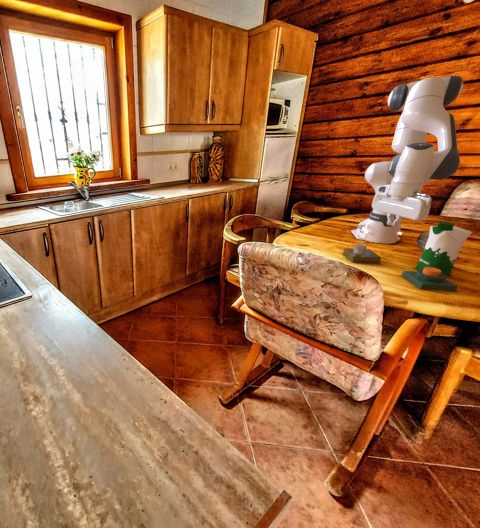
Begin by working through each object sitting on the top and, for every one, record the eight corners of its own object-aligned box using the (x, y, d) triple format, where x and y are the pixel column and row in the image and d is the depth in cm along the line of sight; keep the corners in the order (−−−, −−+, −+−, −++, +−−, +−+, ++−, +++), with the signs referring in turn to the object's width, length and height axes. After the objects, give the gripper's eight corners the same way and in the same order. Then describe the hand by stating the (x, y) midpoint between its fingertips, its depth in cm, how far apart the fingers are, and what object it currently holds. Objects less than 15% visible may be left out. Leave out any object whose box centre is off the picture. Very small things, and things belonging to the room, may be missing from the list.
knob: (351, 251, 126) (353, 242, 124) (361, 252, 125) (364, 243, 123) (355, 255, 122) (358, 245, 120) (366, 255, 121) (368, 246, 119)
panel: (339, 254, 131) (341, 247, 130) (367, 255, 128) (369, 248, 127) (350, 262, 122) (352, 256, 121) (380, 264, 119) (382, 257, 118)
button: (419, 271, 104) (421, 266, 103) (433, 272, 103) (435, 267, 102) (427, 276, 100) (429, 271, 99) (442, 277, 99) (444, 272, 98)
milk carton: (411, 266, 115) (429, 220, 107) (437, 267, 114) (457, 220, 105) (427, 276, 108) (448, 226, 99) (455, 277, 106) (479, 226, 98)
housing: (401, 275, 109) (404, 266, 107) (432, 277, 107) (436, 268, 105) (420, 289, 99) (424, 279, 98) (455, 291, 97) (460, 281, 95)
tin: (413, 245, 136) (420, 229, 132) (419, 245, 136) (426, 228, 132) (448, 257, 122) (457, 239, 118) (455, 256, 122) (463, 238, 119)
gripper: (442, 194, 95) (426, 232, 100) (389, 185, 113) (378, 218, 119) (423, 195, 95) (409, 233, 100) (373, 186, 113) (364, 219, 119)
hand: (392, 225), depth 110 cm, fingers closed
